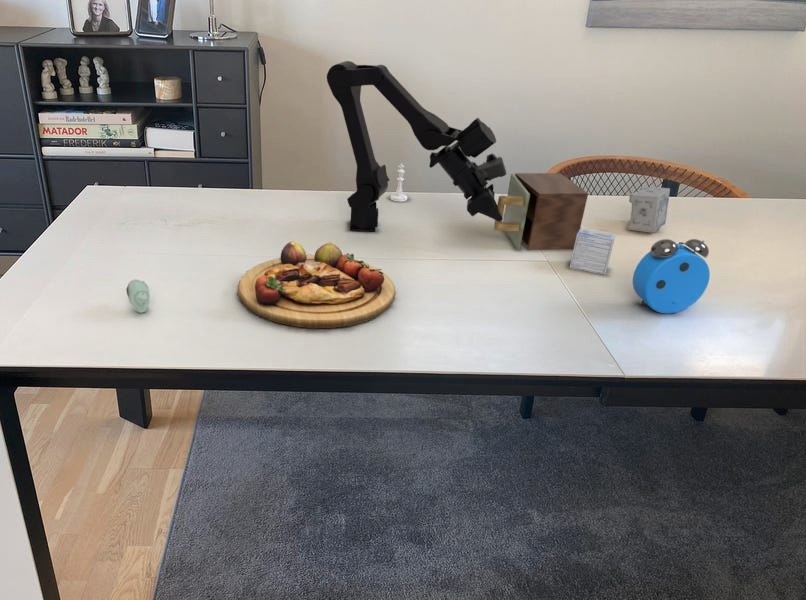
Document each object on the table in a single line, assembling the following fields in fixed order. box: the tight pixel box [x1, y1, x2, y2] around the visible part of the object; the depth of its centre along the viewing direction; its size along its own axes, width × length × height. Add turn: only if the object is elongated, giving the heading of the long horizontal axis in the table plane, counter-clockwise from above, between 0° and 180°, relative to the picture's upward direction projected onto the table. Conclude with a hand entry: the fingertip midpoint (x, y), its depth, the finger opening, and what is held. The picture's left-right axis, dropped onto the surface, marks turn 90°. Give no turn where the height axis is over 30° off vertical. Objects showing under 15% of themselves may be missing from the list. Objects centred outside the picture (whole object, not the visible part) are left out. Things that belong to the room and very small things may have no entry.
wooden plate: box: [237, 240, 396, 329], centre depth 141 cm, size 32×32×8 cm
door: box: [493, 173, 530, 251], centre depth 172 cm, size 7×16×14 cm, turn 1°
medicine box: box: [569, 226, 616, 275], centre depth 158 cm, size 8×4×9 cm, turn 65°
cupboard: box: [514, 172, 589, 251], centre depth 173 cm, size 12×16×14 cm
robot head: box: [126, 279, 150, 314], centre depth 132 cm, size 8×4×7 cm, turn 17°
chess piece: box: [389, 162, 408, 203], centre depth 195 cm, size 5×5×10 cm
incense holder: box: [627, 186, 671, 233], centre depth 182 cm, size 10×8×10 cm
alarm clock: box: [632, 238, 711, 315], centre depth 140 cm, size 13×6×15 cm, turn 97°
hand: (500, 218), depth 166 cm, fingers closed on door, 2 cm apart
